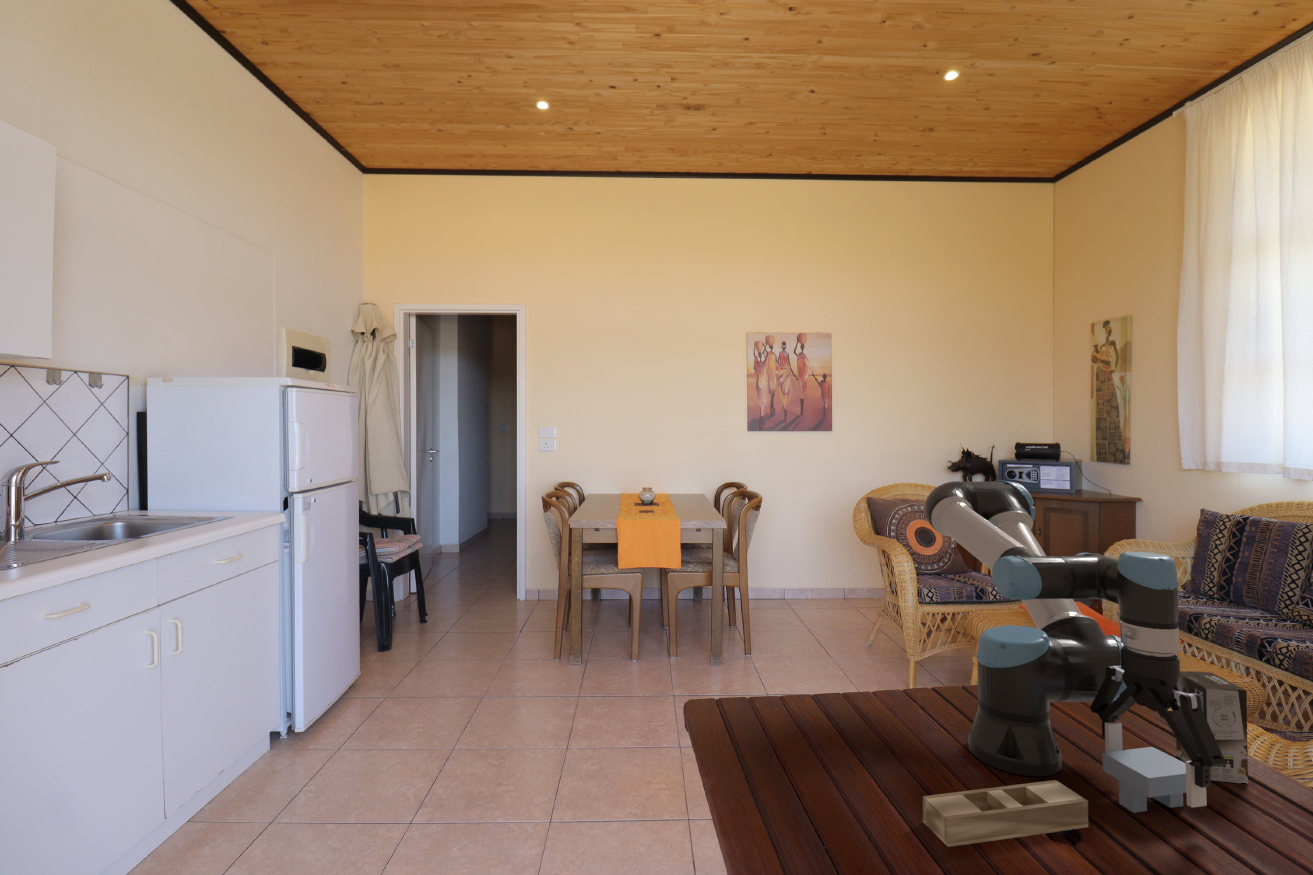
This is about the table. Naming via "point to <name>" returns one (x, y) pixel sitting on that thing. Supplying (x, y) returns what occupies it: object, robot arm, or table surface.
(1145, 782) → the grey plastic block
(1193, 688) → the coffee box
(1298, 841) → the table surface
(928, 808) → the rail
